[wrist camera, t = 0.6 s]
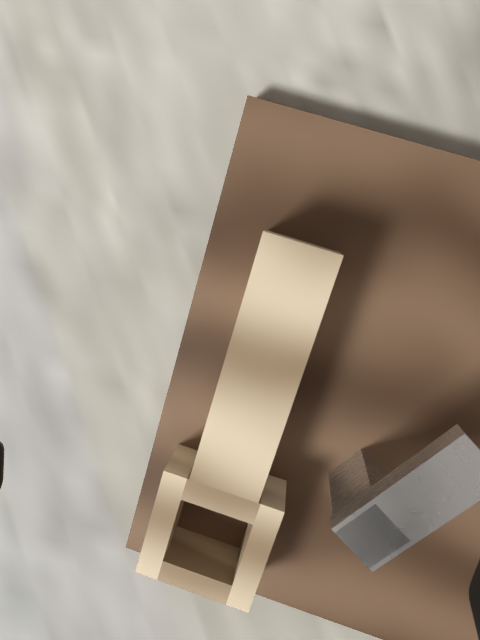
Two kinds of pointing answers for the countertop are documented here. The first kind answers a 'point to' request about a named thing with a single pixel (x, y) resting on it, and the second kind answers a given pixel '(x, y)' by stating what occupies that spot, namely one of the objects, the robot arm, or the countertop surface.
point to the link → (243, 429)
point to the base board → (346, 357)
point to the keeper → (403, 497)
